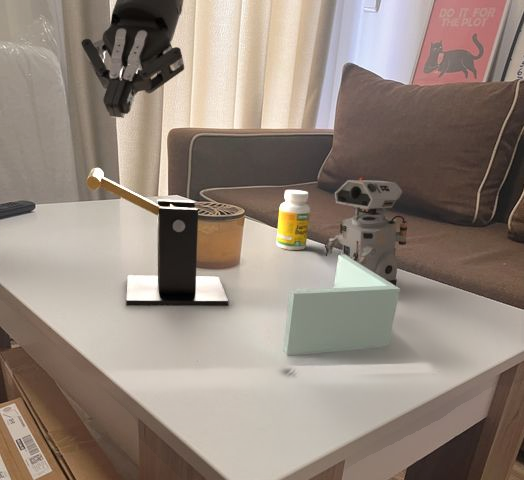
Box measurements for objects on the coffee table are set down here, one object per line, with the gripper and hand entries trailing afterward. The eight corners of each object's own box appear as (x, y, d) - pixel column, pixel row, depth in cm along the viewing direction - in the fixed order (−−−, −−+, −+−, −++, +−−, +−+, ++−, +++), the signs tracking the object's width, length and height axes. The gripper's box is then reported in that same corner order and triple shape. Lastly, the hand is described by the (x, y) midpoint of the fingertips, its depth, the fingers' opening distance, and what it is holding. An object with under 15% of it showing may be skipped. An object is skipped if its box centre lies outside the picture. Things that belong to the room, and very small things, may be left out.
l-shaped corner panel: (335, 311, 67) (344, 254, 64) (386, 353, 57) (400, 288, 54) (247, 316, 63) (252, 256, 60) (285, 363, 53) (294, 293, 50)
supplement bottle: (287, 240, 97) (292, 187, 93) (311, 247, 95) (318, 193, 90) (269, 245, 93) (275, 190, 89) (294, 252, 91) (301, 195, 86)
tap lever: (82, 190, 56) (91, 169, 55) (87, 180, 61) (95, 161, 60) (185, 240, 60) (194, 222, 60) (181, 227, 66) (190, 210, 65)
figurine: (306, 277, 79) (319, 173, 72) (362, 269, 85) (380, 173, 78) (345, 297, 72) (364, 185, 66) (403, 288, 78) (426, 184, 72)
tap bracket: (126, 312, 61) (123, 210, 56) (127, 286, 69) (125, 194, 64) (227, 312, 64) (234, 215, 59) (218, 287, 72) (222, 199, 67)
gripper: (89, -30, 63) (46, 80, 58) (196, -22, 62) (162, 92, 57) (109, 27, 70) (72, 130, 65) (205, 35, 69) (176, 141, 64)
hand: (114, 112), depth 61 cm, fingers closed
